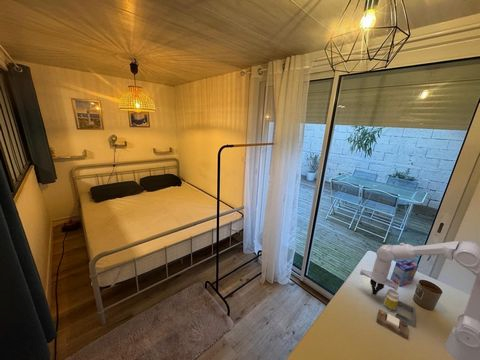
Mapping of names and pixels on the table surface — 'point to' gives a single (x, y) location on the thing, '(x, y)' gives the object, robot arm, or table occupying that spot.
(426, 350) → the table surface
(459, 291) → the table surface
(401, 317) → the lockout bracket
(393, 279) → the ink cartridge box
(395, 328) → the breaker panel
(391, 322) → the button
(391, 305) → the supplement bottle
